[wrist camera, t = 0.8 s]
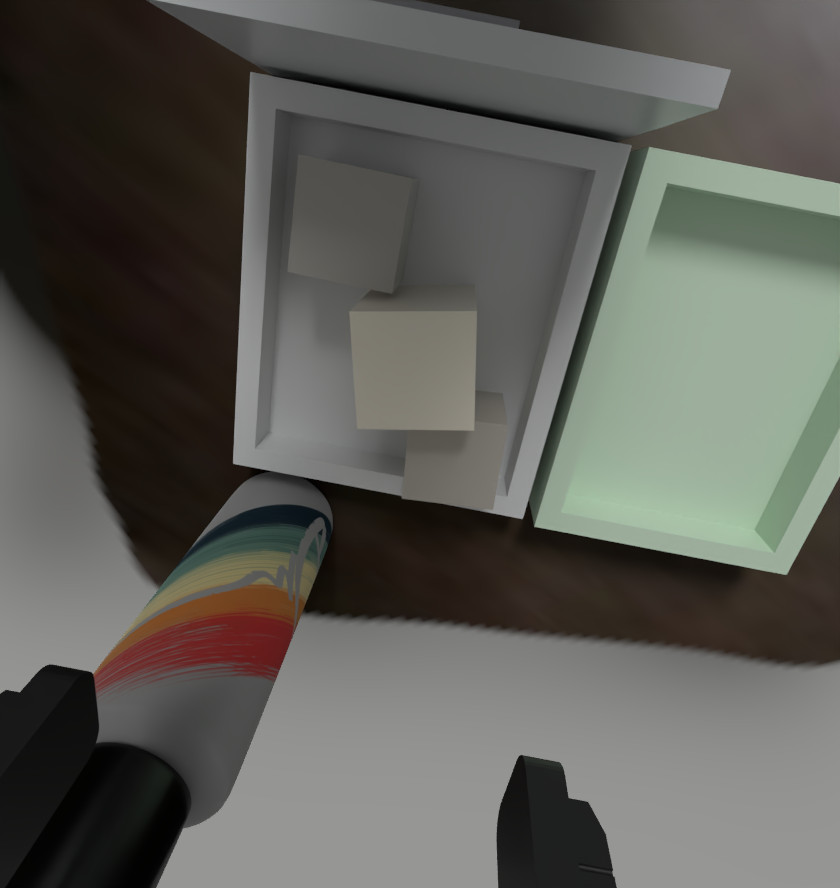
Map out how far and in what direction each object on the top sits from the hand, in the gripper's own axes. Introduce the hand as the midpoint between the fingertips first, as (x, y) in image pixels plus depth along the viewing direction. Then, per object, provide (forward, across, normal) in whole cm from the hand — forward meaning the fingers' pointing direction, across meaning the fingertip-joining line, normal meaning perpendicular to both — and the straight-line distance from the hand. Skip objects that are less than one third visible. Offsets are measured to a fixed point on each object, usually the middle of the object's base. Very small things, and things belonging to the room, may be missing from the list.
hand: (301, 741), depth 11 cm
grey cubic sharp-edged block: (+19, +3, -8) cm, 20 cm away
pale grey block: (+18, -3, +1) cm, 19 cm away
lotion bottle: (+19, +5, +8) cm, 21 cm away
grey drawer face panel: (+19, 0, -12) cm, 23 cm away
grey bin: (+19, 0, -4) cm, 19 cm away
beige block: (+18, 0, -3) cm, 19 cm away
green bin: (+19, -13, -4) cm, 23 cm away
